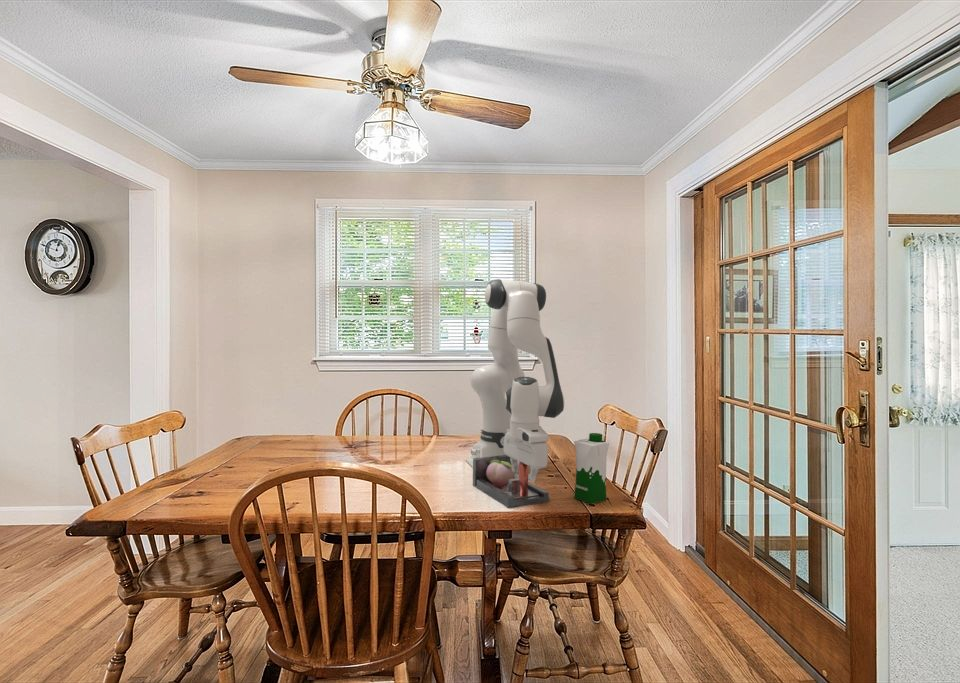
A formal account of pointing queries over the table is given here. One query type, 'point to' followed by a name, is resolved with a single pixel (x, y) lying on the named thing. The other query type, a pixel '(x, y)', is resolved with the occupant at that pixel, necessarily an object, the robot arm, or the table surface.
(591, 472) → the milk carton
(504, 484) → the decorative fruit
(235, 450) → the table surface
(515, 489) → the handle
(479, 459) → the press base
